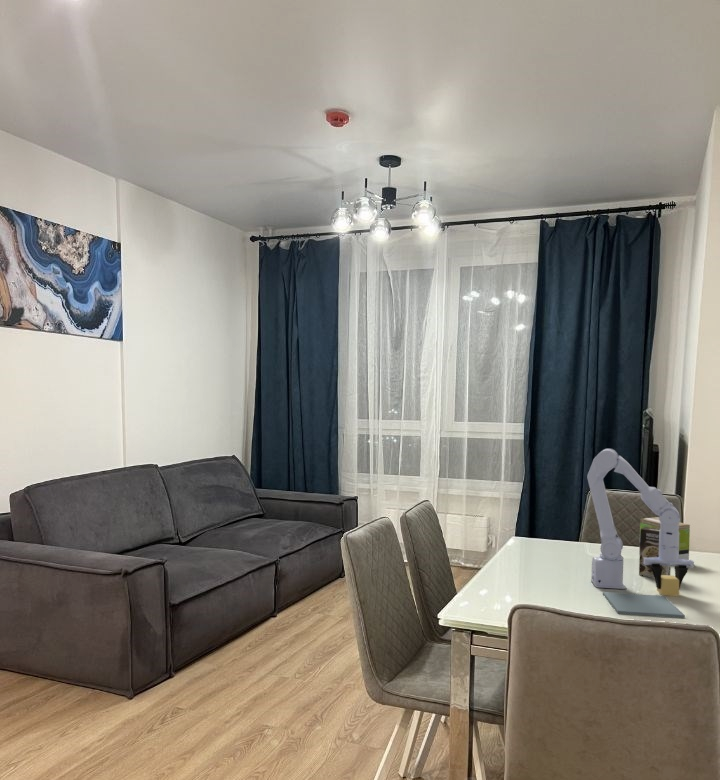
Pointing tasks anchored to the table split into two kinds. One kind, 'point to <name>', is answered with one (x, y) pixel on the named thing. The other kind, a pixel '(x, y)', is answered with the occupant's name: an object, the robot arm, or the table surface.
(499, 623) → the table surface
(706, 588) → the table surface
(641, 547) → the coffee box
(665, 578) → the mustard cube
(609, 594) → the slate mat
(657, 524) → the tea box
